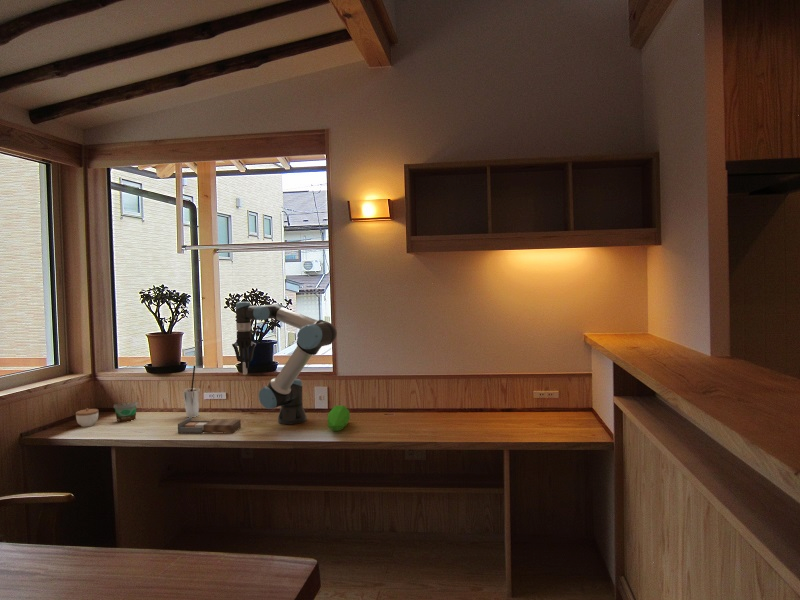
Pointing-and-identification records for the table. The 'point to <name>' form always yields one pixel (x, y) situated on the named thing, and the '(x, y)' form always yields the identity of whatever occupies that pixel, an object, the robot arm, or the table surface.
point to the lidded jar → (87, 417)
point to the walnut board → (222, 425)
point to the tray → (190, 429)
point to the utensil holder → (192, 399)
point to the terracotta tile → (191, 424)
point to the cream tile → (200, 425)
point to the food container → (125, 411)
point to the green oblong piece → (338, 418)
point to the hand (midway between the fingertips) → (245, 374)
